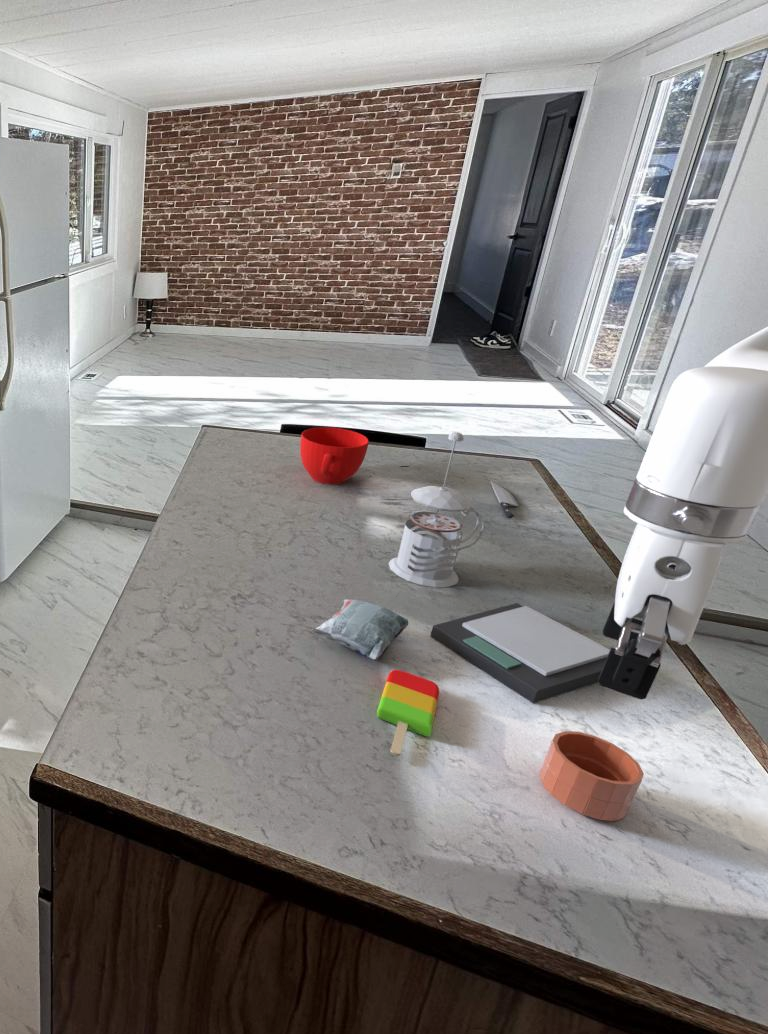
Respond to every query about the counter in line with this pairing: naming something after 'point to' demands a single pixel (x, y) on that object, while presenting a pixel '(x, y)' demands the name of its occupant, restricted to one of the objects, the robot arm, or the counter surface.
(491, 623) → the scale
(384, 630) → the packaged food
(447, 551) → the french press
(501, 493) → the chef's knife
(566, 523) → the counter surface
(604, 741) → the bowl
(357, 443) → the ceramic cup
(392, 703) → the popsicle
